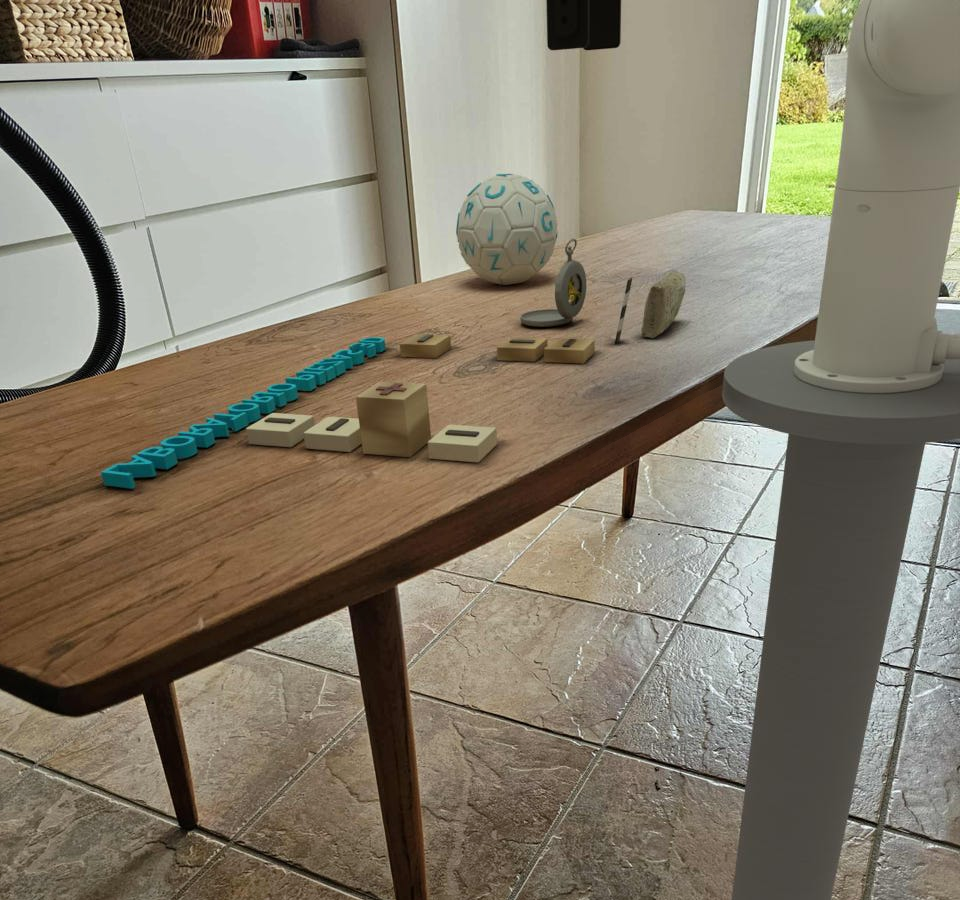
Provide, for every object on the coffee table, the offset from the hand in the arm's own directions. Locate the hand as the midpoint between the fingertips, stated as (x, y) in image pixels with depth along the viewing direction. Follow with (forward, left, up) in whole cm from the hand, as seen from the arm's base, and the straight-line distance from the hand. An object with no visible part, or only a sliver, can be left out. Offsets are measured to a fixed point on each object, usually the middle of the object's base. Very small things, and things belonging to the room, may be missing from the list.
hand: (585, 48), depth 73 cm
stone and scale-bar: (-1, -25, -28) cm, 38 cm away
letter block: (+12, +17, -28) cm, 35 cm away
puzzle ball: (+27, -53, -28) cm, 66 cm away
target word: (+15, +17, -28) cm, 36 cm away
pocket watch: (+12, -28, -28) cm, 42 cm away
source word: (+14, -13, -28) cm, 34 cm away
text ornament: (+30, +8, -28) cm, 42 cm away
